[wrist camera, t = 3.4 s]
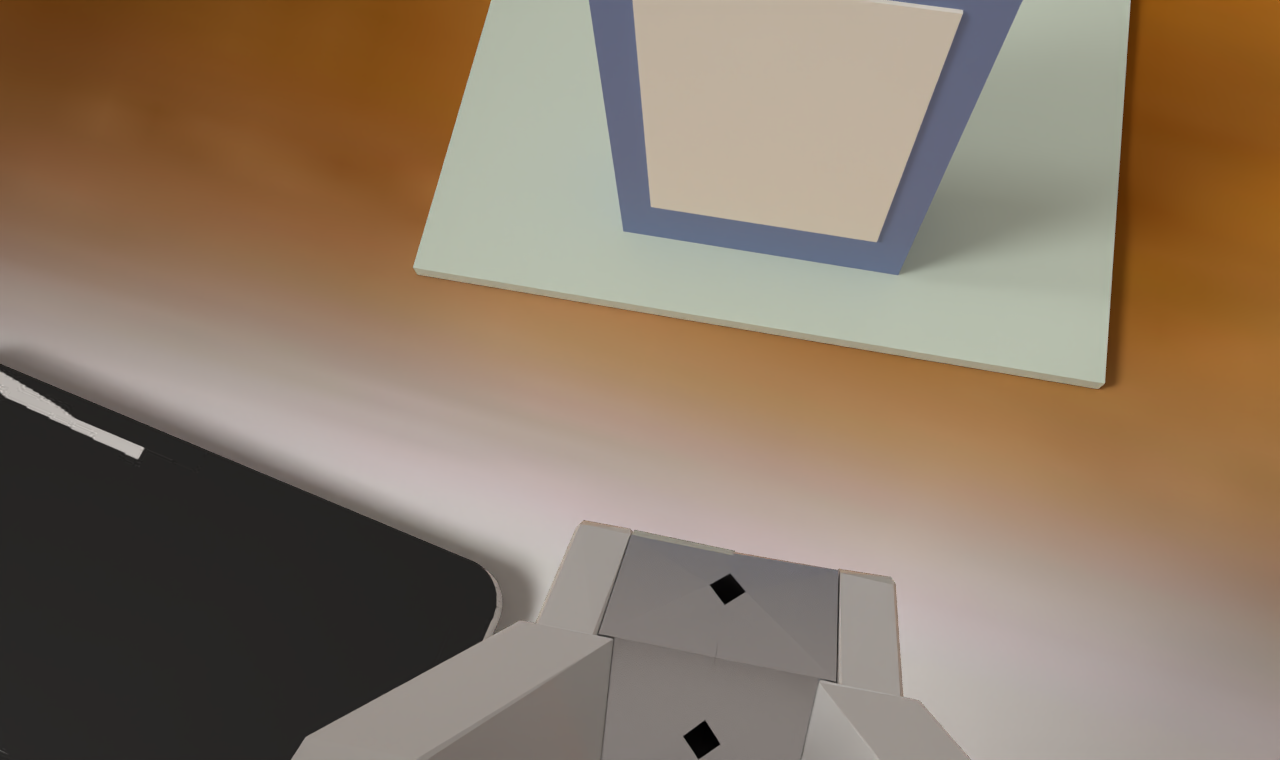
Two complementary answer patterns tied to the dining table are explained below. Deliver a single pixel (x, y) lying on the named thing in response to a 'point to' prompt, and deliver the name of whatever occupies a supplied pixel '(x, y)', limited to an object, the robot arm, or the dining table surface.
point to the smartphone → (196, 595)
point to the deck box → (791, 118)
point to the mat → (798, 289)
